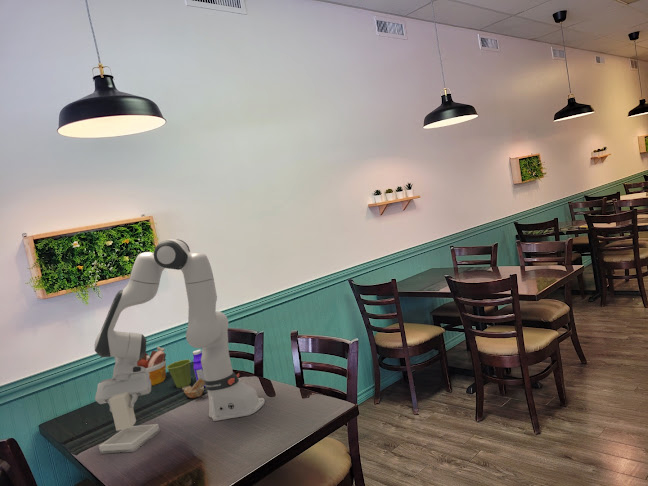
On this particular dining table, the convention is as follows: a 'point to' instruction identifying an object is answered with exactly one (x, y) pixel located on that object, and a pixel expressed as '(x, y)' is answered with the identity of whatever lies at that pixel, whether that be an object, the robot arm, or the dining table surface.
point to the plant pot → (180, 373)
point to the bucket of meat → (155, 365)
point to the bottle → (198, 365)
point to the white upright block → (122, 411)
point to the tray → (129, 439)
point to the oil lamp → (195, 389)
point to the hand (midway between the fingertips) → (121, 409)
